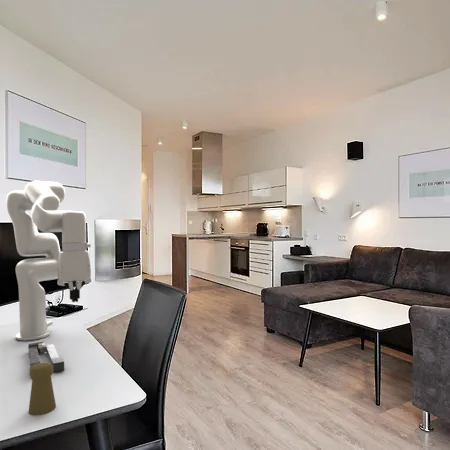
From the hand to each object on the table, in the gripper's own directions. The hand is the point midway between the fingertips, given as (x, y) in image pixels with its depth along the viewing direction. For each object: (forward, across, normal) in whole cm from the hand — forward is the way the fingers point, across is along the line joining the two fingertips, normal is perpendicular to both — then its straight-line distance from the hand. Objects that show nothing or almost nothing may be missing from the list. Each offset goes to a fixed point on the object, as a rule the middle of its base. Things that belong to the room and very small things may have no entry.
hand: (74, 301), depth 124 cm
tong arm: (+19, +8, 0) cm, 20 cm away
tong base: (+19, +11, -2) cm, 22 cm away
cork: (+18, +13, +33) cm, 40 cm away
